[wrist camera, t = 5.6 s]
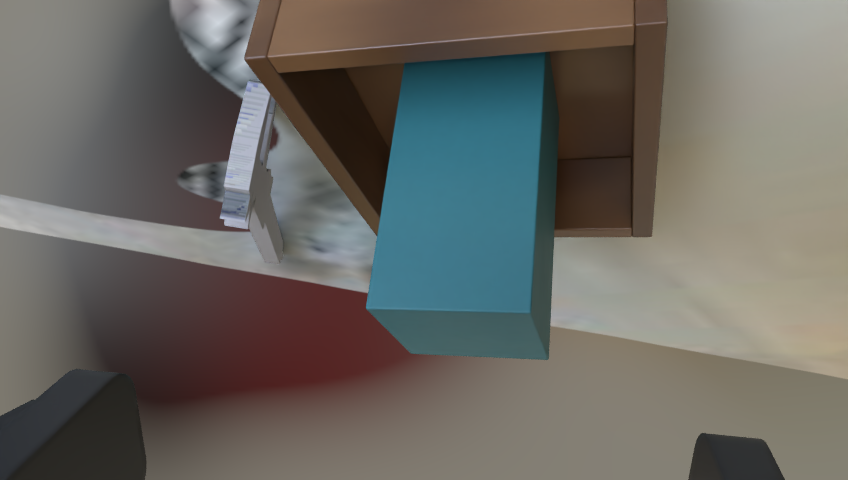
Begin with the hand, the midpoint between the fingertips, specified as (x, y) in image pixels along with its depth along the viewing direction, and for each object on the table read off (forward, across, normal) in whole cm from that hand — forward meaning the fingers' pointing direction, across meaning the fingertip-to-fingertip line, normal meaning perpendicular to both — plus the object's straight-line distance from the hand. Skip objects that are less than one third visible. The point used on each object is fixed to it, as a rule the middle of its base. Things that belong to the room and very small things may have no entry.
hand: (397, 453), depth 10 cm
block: (+19, 0, -2) cm, 19 cm away
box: (+19, 0, -3) cm, 20 cm away
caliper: (+27, +12, +4) cm, 30 cm away
